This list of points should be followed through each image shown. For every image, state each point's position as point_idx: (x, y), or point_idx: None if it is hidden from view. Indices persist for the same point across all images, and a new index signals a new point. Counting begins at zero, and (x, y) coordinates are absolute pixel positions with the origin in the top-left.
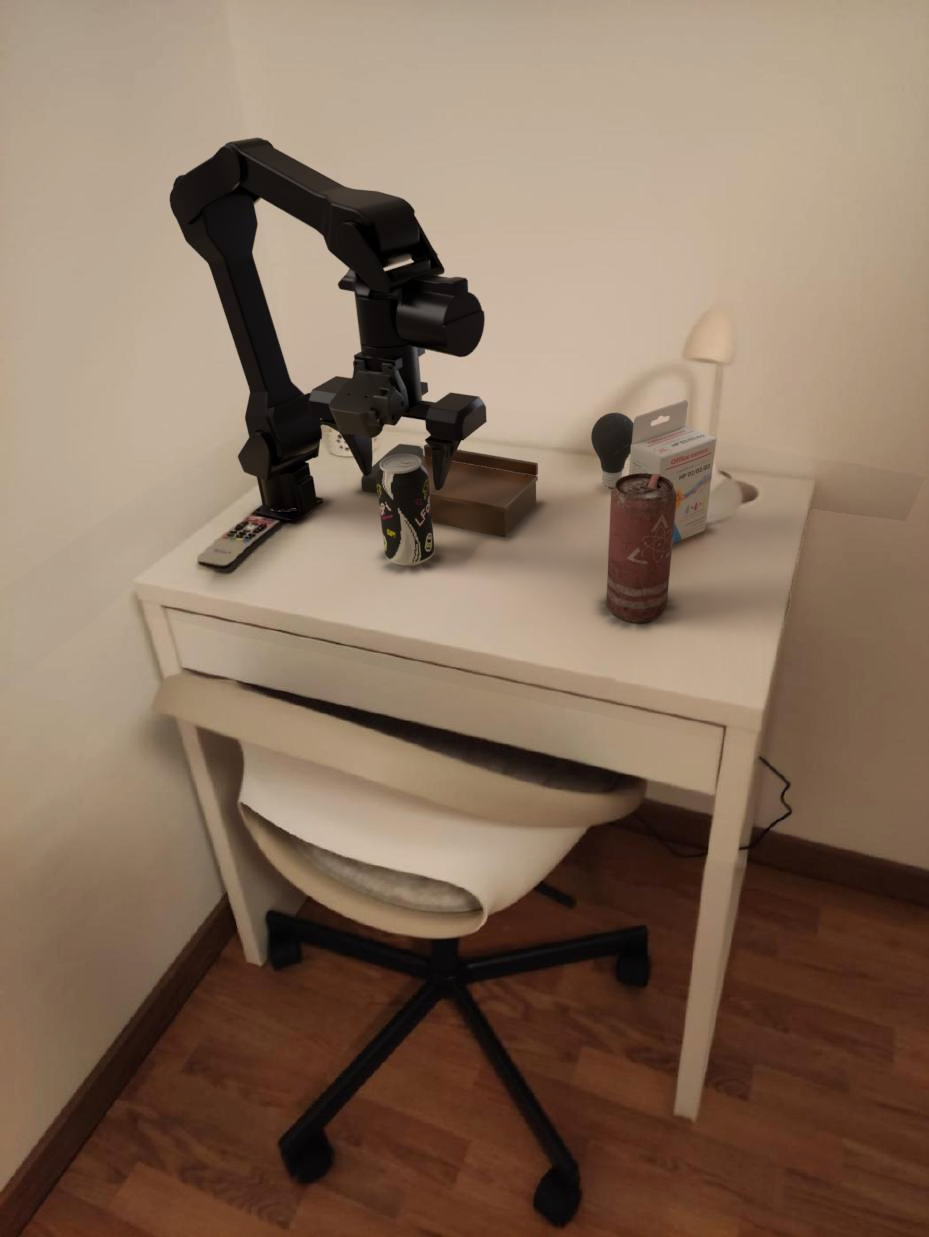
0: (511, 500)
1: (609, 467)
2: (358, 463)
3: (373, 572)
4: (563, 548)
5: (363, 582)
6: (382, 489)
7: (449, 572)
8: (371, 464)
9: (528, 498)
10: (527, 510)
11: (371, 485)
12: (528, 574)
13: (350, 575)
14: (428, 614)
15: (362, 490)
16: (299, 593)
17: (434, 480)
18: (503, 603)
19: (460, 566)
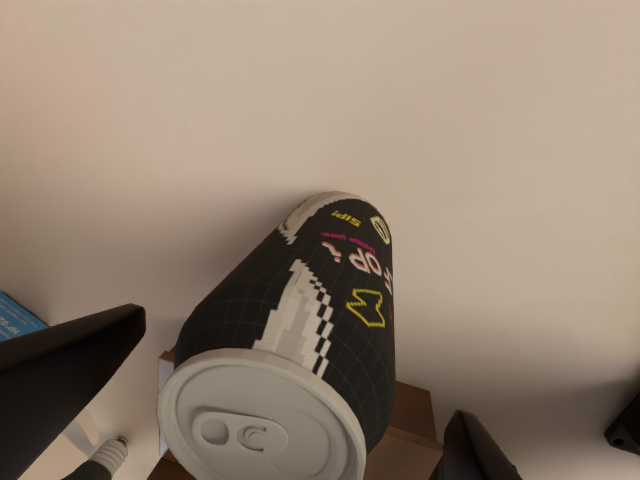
0: (160, 382)
1: (86, 470)
2: (511, 475)
3: (402, 169)
4: (107, 292)
5: (414, 121)
6: (339, 293)
7: (244, 195)
8: (446, 474)
9: None
10: None
11: None
12: (117, 209)
13: (457, 146)
14: (222, 16)
15: (514, 467)
16: (590, 22)
17: (100, 324)
18: (110, 102)
19: (233, 219)
